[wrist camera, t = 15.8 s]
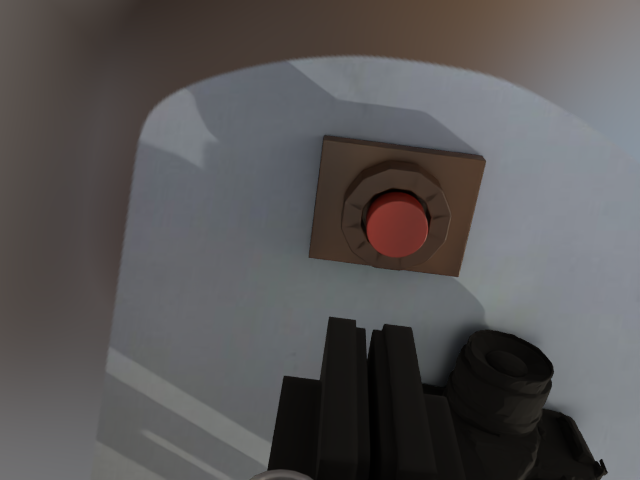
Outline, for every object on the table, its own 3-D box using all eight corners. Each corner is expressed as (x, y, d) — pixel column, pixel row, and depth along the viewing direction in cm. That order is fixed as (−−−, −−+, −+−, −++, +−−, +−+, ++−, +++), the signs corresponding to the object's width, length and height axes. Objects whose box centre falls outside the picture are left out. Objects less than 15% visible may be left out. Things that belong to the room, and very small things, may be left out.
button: (361, 242, 38) (362, 253, 36) (370, 187, 36) (371, 197, 35) (419, 249, 38) (422, 261, 36) (430, 195, 36) (433, 205, 35)
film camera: (610, 352, 43) (672, 440, 35) (560, 455, 47) (605, 556, 38) (404, 306, 42) (416, 385, 34) (369, 414, 46) (373, 508, 38)
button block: (309, 250, 41) (306, 269, 38) (324, 134, 38) (321, 146, 35) (455, 269, 41) (463, 290, 38) (482, 155, 38) (492, 169, 35)
